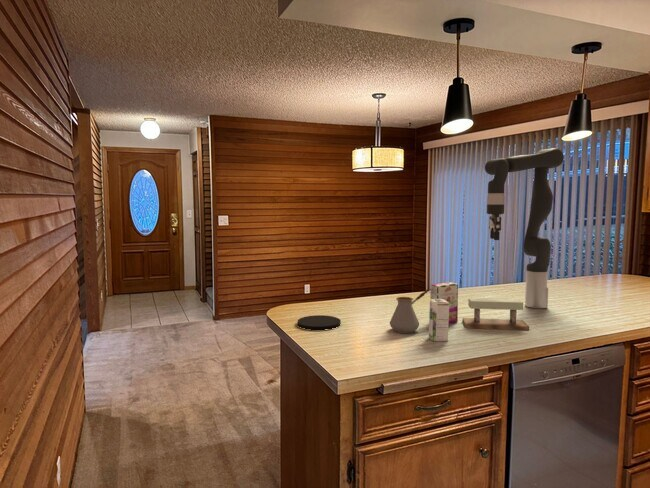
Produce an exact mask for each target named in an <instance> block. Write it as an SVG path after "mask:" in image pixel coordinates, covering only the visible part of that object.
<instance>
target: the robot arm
mask: <svg viewBox="0 0 650 488" xmlns="http://www.w3.org/2000/svg"><path fill="white" fill-rule="evenodd" d="M564 157H565V155H564V153H563V151H562V150H561V149H560V148H555V147H552V148H545V149H540V150H539V151H537V153H533V154H522V155H521V154H520V155H513V156H509V157H505V158H502V157H501V158H493V159H489V160H488V161H486V163H485V165H484V170H485V172H486V173H487V174H488V175H490V176H494V177H493V179H490V180H489V181H488V183H487V195H486V215H490V216H489V219H488V220H489V222H488V223H489V224H488V225H489V226H488V229H489V230H490V231H489V238H490V239H492V240H494V241H500V232H501V231H502V216H500V215H504V214H505V198H506V197H505V184H506V182H507V178H508V174H509V173H515V172H516V173H517V172H523V171H527V170H531V169H533V170H534V171H533V174H534V175H533V188H532V193H531V200H530V206H529V207H530V208H529V209H530V210H529V216H528V222H527V227H526V230H525V231H526V232H525V235H524V240H523V246H522V249H523V253H524V254H525V255H526V256H528V257H535V261H534V262H531V263H528V264H526V269H525V270H526V272H525V296H524V297H525V299H524V300H525V301H524V307H527V308H531V309H548V306H549V288H548V272H549V270H548V269H549V266H550V261H551V250H552V245H551V244H552V243H551V242H550V240H549V239H548V238H547V237H540V236H539V231H540V228H541V226H542V224H543V223H544V222H545V221H546V220H547V218H548V216H549V215H550V213H551V212H552V210H553V202H554V196H553V195H554V194H553V191H552V189H551V187H550V185H549V181H548V176H549V175H548V174H549V173H548V172H549V169H555V168H558V167H560V166H561V165H562V164H563V163H564V160H565V158H564Z"/></svg>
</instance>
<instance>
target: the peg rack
mask: <svg viewBox="0 0 650 488" xmlns="http://www.w3.org/2000/svg"><path fill="white" fill-rule="evenodd" d="M473 311H474V312H473V317H462V324H463V325H464V328H465V329H466V328H467V329H484V330H485V329H489V330H510V331H511V330H512V331H514V330H515V331H530V325H528V324H527V323H526V321H525V320H523V319H517V311H518V310H509V319H507V318H506V319H505V318H501V319H500V318H481V317H480V316H481V309H473Z"/></svg>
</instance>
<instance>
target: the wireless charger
mask: <svg viewBox="0 0 650 488" xmlns="http://www.w3.org/2000/svg"><path fill="white" fill-rule="evenodd" d="M341 323H342V322H341V319H340V318H338V317H336V316H331V315H325V314H324V315H322V314H321V315H307V316H303V317H300V318H299V319H298V320H297V327H298V326H299V327H301V328H300V329H302V328H305V329H311V330H310V331H312V330H325V329H332V328H336V327H338V326H340V327H341V325H342V324H341ZM340 324H341V325H340ZM299 327H298V328H299ZM338 328H339V327H338ZM305 329H304V330H305ZM336 329H337V328H336ZM332 330H333V329H332ZM325 331H326V330H325Z"/></svg>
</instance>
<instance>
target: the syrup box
mask: <svg viewBox="0 0 650 488" xmlns="http://www.w3.org/2000/svg"><path fill="white" fill-rule="evenodd" d="M428 317H429V318H428V319H429V320H428V338H430V340H431V341H432V342H447V341H449V324H450V323H449V302H447V301H445V300H444V299H429V315H428Z"/></svg>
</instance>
